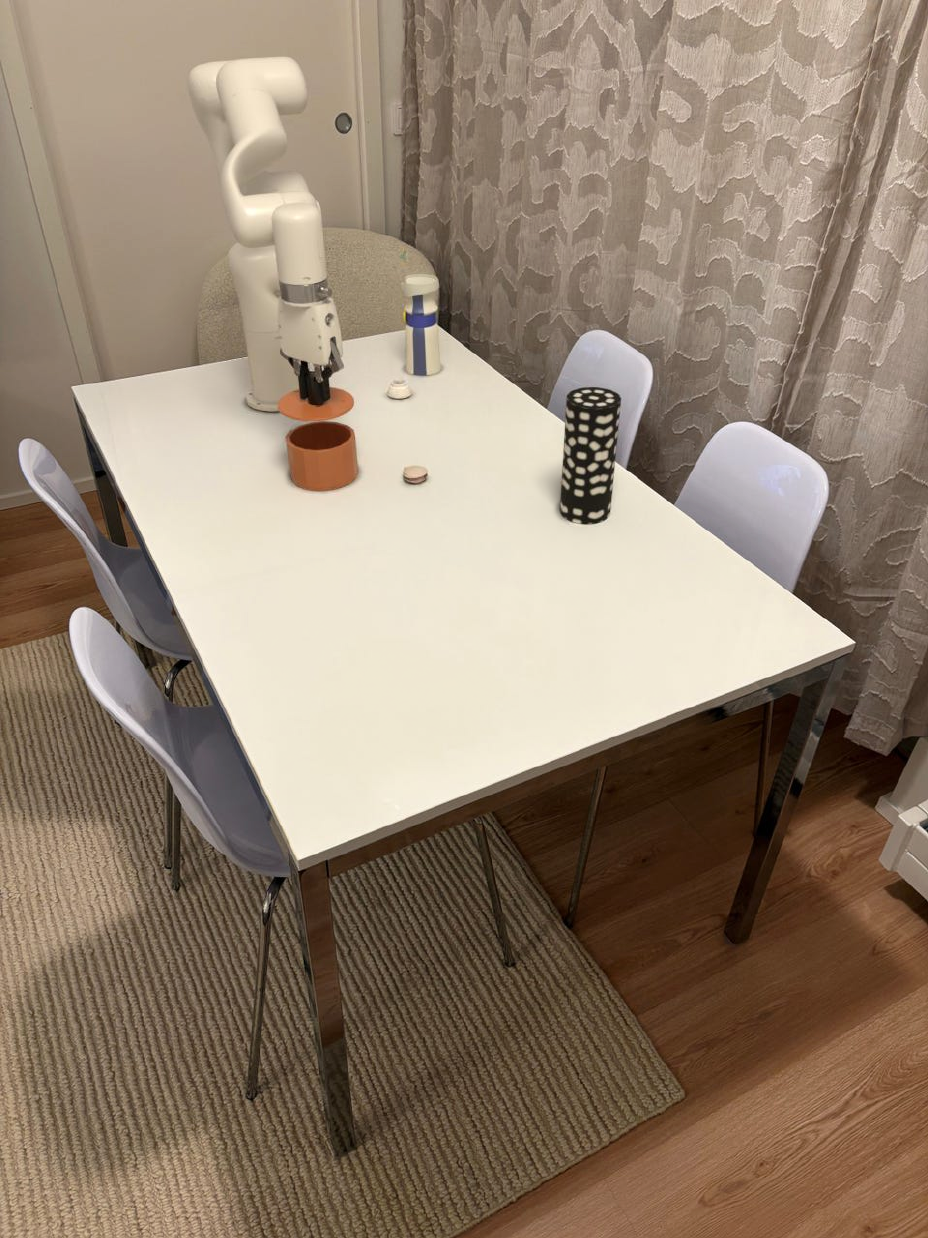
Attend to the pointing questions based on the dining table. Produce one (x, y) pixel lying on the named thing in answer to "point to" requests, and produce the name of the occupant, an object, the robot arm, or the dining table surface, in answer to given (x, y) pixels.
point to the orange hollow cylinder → (322, 455)
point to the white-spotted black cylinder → (589, 454)
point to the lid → (309, 409)
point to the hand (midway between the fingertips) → (315, 398)
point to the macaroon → (415, 474)
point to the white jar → (399, 389)
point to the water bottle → (420, 323)
